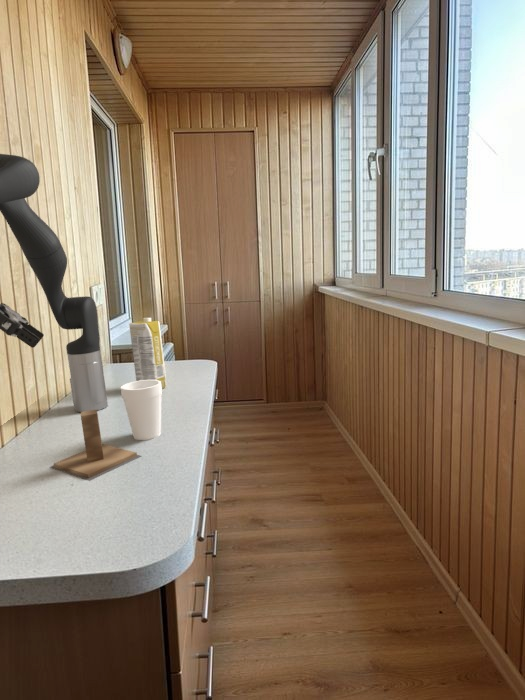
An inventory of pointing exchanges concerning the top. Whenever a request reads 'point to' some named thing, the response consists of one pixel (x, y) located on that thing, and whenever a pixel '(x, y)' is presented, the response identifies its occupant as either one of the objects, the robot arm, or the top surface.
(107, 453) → the lid
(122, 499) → the top surface
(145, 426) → the foam cup
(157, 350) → the juice carton
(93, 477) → the mat
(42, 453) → the top surface
